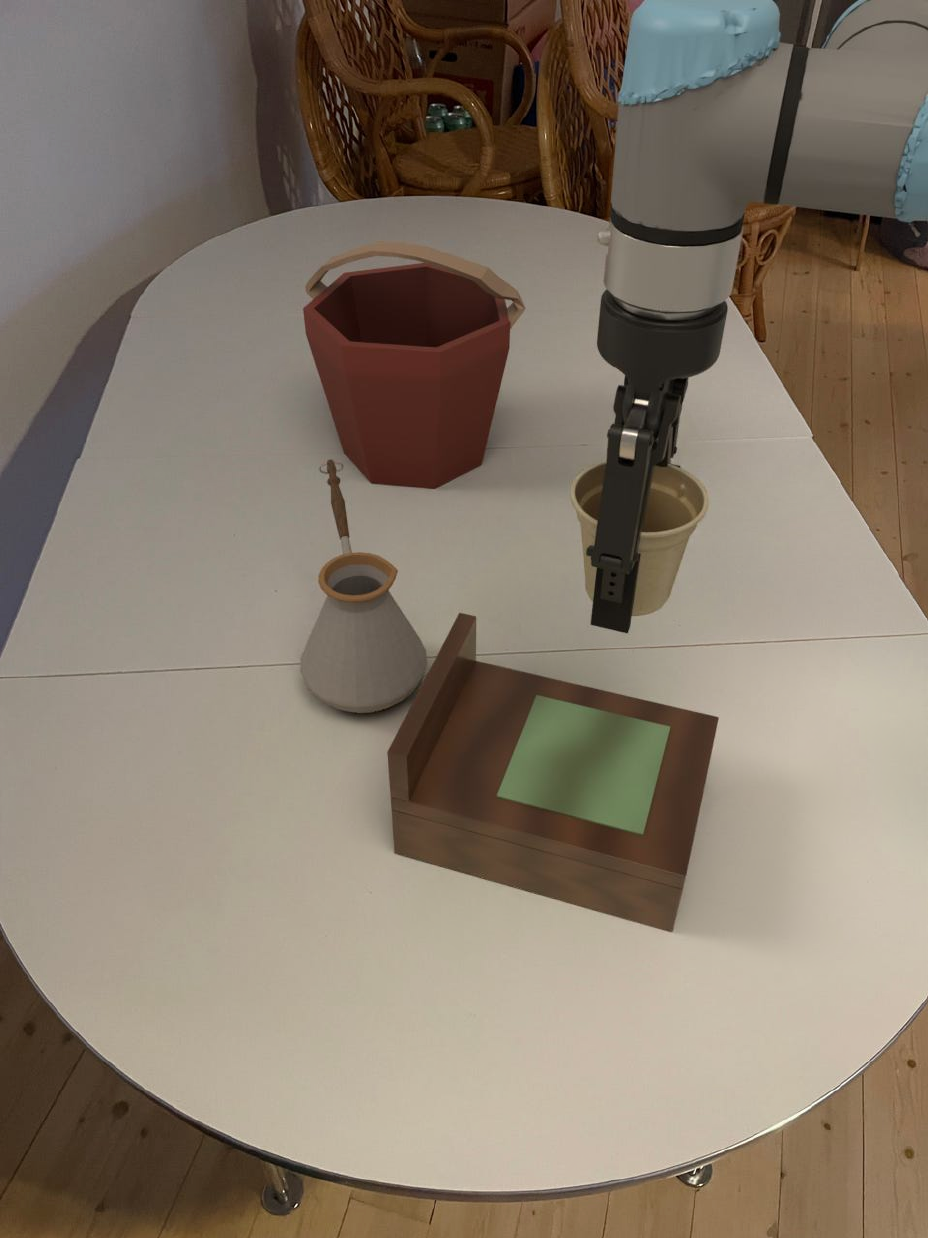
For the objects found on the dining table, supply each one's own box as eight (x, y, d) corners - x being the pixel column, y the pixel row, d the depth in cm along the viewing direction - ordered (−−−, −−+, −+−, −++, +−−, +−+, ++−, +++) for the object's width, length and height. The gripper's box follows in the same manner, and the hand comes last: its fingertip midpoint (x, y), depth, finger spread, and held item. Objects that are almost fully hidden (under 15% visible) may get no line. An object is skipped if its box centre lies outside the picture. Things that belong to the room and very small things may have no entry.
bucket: (548, 442, 127) (561, 240, 111) (444, 532, 114) (441, 316, 97) (388, 387, 138) (378, 194, 121) (276, 463, 124) (247, 257, 107)
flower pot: (536, 585, 77) (541, 488, 72) (623, 536, 82) (635, 441, 76) (629, 651, 72) (643, 552, 66) (717, 595, 77) (737, 497, 71)
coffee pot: (439, 717, 93) (436, 587, 83) (310, 739, 91) (292, 608, 81) (396, 571, 109) (390, 447, 99) (286, 587, 107) (268, 462, 97)
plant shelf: (705, 773, 88) (729, 672, 80) (672, 932, 77) (696, 832, 69) (459, 713, 93) (459, 612, 85) (394, 853, 82) (386, 752, 74)
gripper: (641, 222, 70) (609, 500, 85) (555, 362, 55) (534, 669, 70) (754, 237, 68) (701, 518, 83) (695, 386, 53) (643, 696, 68)
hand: (624, 587), depth 77 cm, fingers closed on flower pot, 8 cm apart
